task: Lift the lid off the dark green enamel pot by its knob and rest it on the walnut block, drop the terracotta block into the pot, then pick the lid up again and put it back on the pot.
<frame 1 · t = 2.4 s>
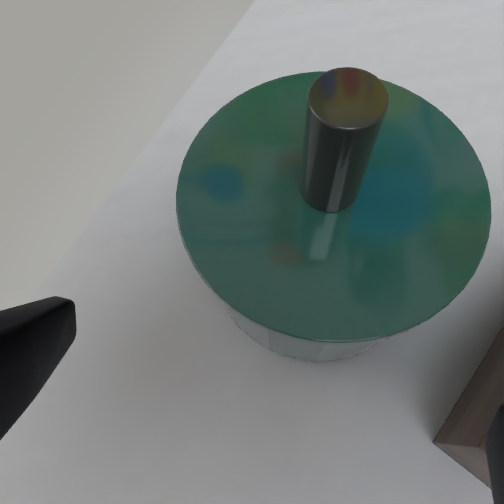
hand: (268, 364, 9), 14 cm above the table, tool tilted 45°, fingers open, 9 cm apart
lid: (327, 194, 17), point 7 cm above the table, touching pot
pot: (313, 260, 24), on the table
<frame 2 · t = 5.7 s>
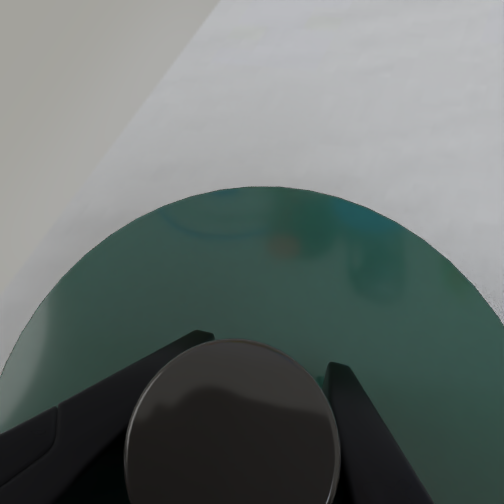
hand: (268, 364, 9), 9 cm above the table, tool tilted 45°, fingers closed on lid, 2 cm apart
lid: (256, 431, 10), point 8 cm above the table, touching gripper, pot
when the fingers open (7 cm above the table, at t = 11.3 s): lid stays where it is, resting on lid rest.
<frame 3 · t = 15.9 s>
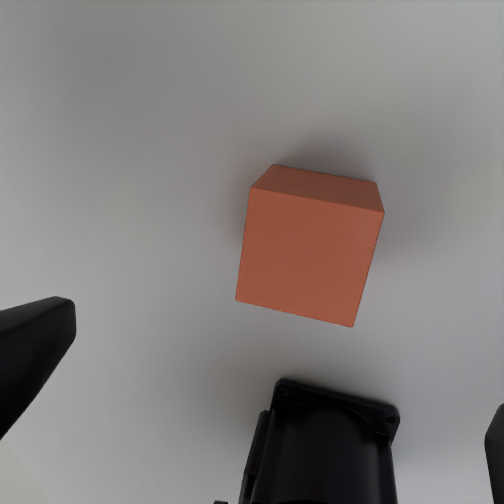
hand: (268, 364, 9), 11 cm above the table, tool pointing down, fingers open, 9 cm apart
block: (313, 222, 19), on the table
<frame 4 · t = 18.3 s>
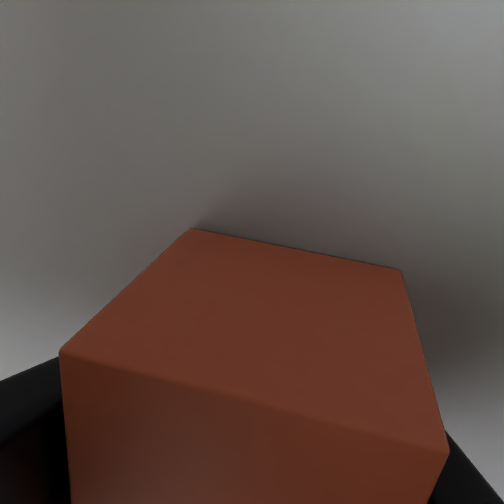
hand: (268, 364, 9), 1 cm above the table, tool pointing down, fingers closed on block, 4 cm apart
block: (275, 335, 9), on the table, touching gripper
when the fingers open (7 cm above the table, at t = 23.6 s): block drops 5 cm, resting on pot.
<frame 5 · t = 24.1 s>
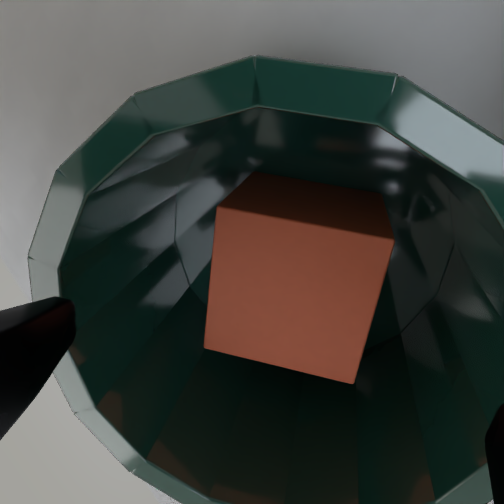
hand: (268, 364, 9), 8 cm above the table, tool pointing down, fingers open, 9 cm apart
block: (304, 241, 15), resting on pot
pot: (305, 238, 16), on the table
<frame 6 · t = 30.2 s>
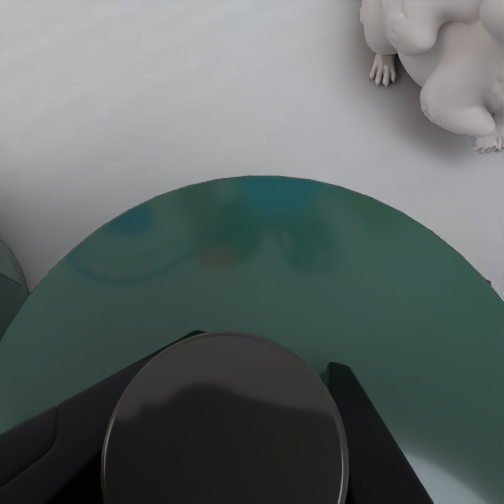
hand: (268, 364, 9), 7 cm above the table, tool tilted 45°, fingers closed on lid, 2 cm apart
figurine: (436, 68, 20), on the table
lid: (254, 433, 9), point 6 cm above the table, touching gripper, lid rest
when the fingers open (9 cm above the table, at t = 36.3 s): lid stays where it is, resting on pot.
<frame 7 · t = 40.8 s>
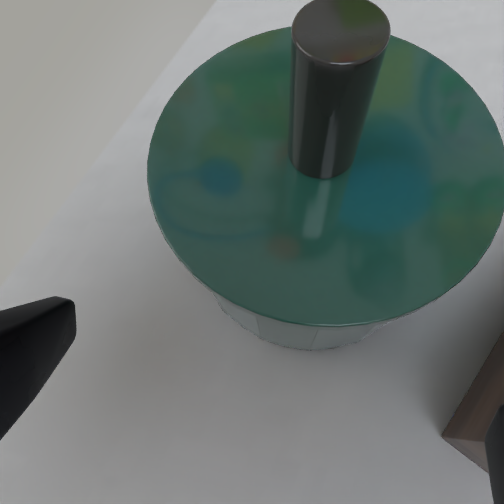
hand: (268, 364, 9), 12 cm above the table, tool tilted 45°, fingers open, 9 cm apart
lid: (319, 160, 15), point 7 cm above the table, touching pot
pot: (307, 240, 22), on the table
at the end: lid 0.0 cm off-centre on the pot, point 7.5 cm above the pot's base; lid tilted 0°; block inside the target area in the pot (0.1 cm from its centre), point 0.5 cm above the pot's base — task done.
